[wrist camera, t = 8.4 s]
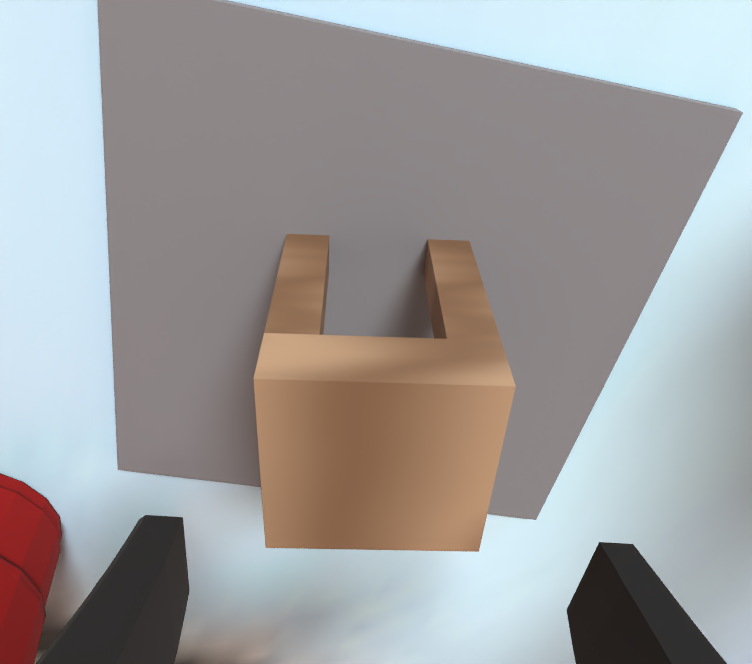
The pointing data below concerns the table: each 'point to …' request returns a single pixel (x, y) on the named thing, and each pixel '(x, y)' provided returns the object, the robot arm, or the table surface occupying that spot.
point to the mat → (371, 216)
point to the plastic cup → (25, 568)
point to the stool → (379, 413)
